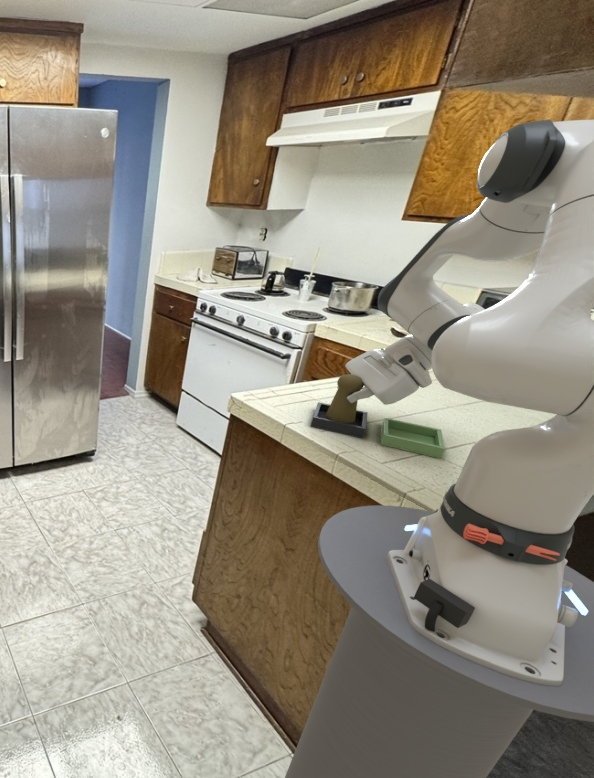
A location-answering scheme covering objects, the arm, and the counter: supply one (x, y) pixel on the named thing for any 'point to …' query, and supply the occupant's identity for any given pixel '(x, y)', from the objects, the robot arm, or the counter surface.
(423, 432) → the green tray
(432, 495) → the counter surface
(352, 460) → the counter surface
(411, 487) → the counter surface
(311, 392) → the counter surface
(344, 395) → the olive brown pawn
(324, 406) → the dark tray
